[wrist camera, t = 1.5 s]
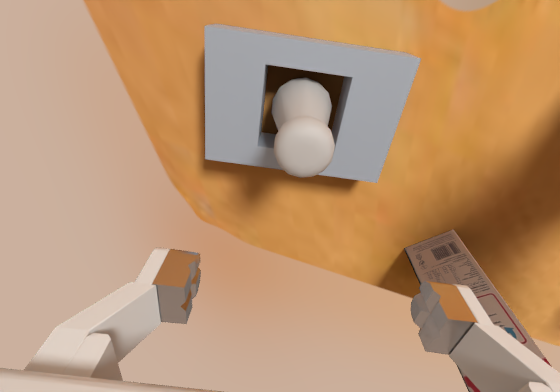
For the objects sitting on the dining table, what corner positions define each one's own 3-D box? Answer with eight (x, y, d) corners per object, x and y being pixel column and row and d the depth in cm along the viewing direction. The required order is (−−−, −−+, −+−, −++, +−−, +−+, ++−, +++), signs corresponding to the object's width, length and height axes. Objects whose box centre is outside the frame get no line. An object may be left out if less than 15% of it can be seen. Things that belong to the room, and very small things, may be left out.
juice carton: (453, 229, 39) (598, 431, 20) (466, 261, 42) (604, 464, 23) (403, 248, 41) (494, 447, 22) (419, 277, 44) (511, 476, 25)
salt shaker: (265, 84, 30) (248, 128, 19) (320, 64, 29) (335, 98, 18) (284, 136, 33) (278, 200, 22) (334, 120, 32) (355, 179, 21)
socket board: (405, 52, 28) (421, 58, 25) (369, 165, 34) (377, 182, 31) (215, 23, 27) (204, 25, 24) (214, 144, 34) (205, 159, 31)
